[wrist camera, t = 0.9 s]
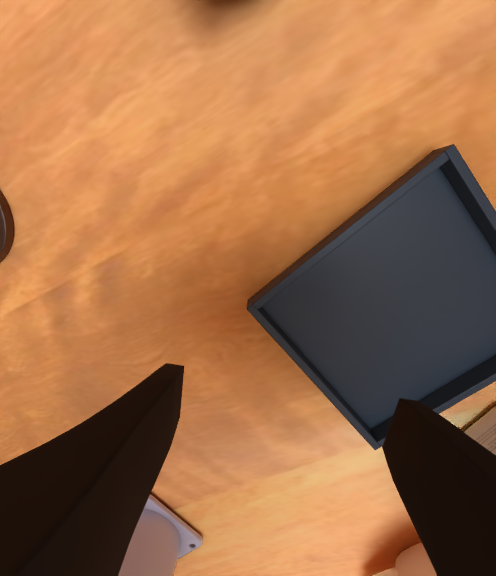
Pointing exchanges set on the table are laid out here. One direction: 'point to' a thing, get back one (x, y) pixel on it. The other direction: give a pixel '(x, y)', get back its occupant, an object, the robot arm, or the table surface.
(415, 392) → the tray
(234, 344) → the table surface
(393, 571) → the power adapter
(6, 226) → the spindle stand
